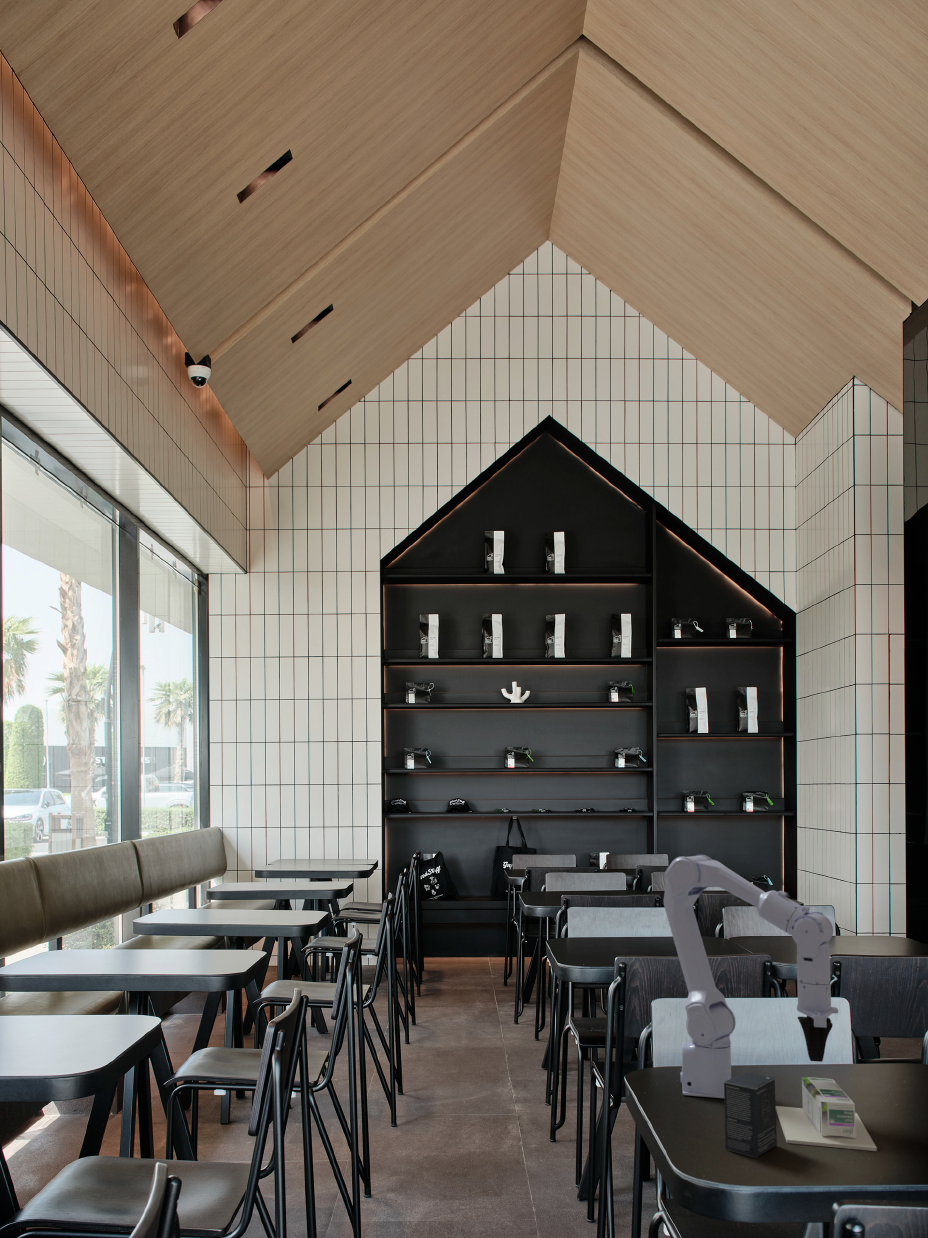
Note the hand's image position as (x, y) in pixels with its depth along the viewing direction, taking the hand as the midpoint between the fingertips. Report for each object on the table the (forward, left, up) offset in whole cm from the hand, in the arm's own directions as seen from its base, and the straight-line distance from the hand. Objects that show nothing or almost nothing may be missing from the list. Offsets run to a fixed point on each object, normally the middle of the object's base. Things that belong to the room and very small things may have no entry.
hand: (815, 1060), depth 182 cm
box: (-13, -20, -10) cm, 26 cm away
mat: (0, -7, -9) cm, 12 cm away
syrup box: (0, +2, -6) cm, 6 cm away
